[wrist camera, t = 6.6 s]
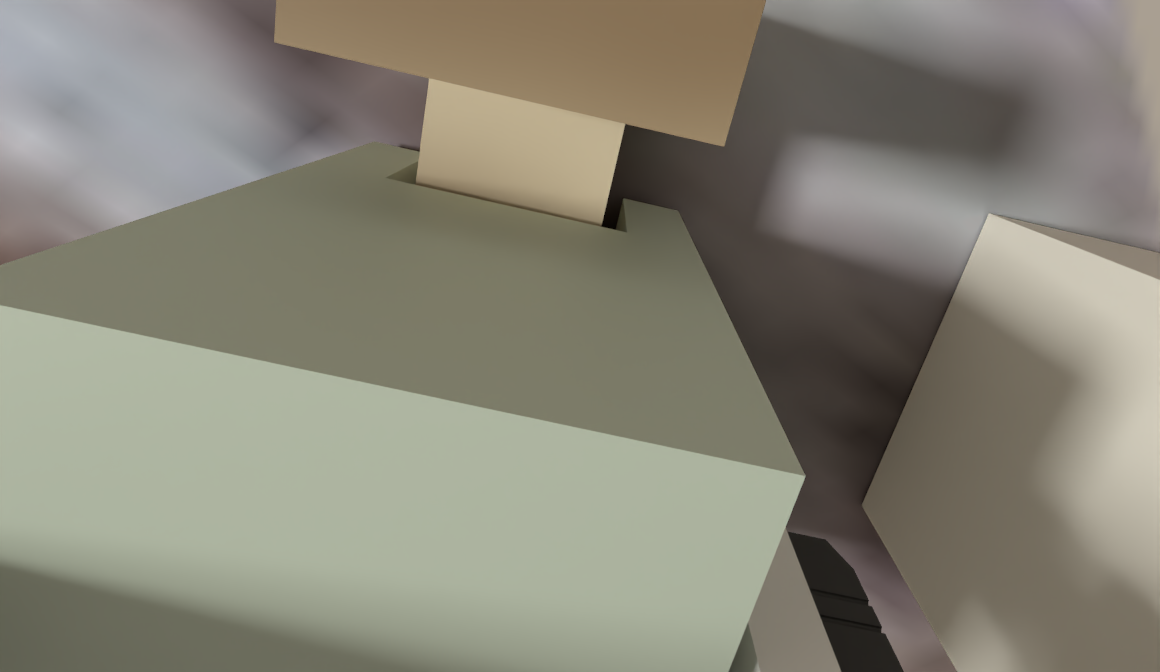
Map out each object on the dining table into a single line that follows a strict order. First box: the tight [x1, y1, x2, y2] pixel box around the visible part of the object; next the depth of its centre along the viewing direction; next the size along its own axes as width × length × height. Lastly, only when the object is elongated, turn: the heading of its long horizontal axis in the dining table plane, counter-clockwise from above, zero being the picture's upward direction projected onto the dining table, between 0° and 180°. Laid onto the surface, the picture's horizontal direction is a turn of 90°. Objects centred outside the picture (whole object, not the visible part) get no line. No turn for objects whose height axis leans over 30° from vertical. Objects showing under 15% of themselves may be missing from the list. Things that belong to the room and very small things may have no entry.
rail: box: [274, 0, 766, 227], centre depth 14 cm, size 26×5×6 cm, turn 168°
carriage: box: [0, 142, 806, 672], centre depth 10 cm, size 7×6×10 cm
